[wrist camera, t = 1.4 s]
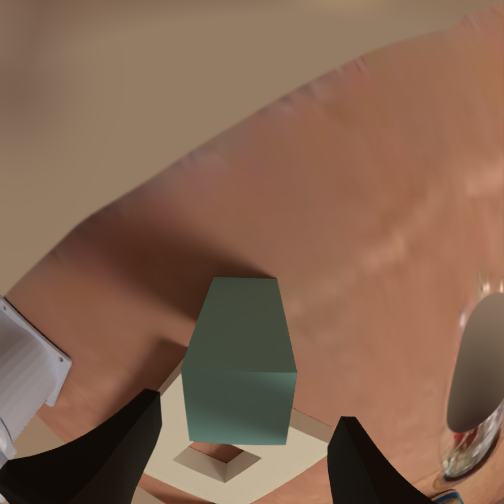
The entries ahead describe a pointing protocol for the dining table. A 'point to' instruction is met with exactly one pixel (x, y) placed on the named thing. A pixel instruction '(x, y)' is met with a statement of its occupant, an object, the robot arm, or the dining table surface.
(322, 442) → the keyed socket plate
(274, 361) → the teal square peg
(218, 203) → the dining table surface
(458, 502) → the beverage bottle
